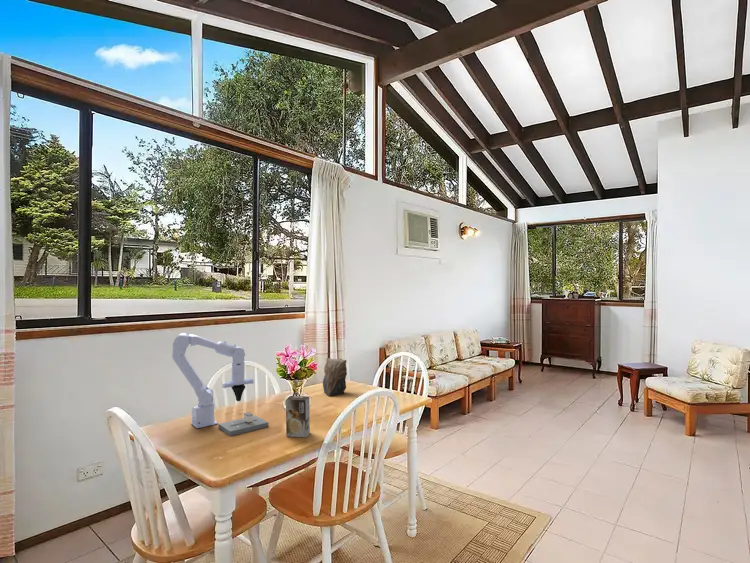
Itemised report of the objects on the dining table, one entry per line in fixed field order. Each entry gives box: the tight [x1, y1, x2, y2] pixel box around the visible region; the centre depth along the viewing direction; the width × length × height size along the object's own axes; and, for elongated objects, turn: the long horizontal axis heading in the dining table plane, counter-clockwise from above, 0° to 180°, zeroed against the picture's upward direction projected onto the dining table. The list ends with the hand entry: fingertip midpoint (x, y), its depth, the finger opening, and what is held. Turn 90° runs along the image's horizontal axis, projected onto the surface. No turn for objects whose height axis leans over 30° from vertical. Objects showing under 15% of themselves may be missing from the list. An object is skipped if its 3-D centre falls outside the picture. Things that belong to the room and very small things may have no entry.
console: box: [217, 414, 269, 437], centre depth 197 cm, size 18×13×2 cm
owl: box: [322, 357, 348, 397], centre depth 255 cm, size 13×13×20 cm
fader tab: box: [243, 411, 254, 422], centre depth 198 cm, size 2×4×3 cm, turn 41°
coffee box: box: [285, 395, 311, 438], centre depth 188 cm, size 9×6×16 cm
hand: (238, 400), depth 206 cm, fingers closed
